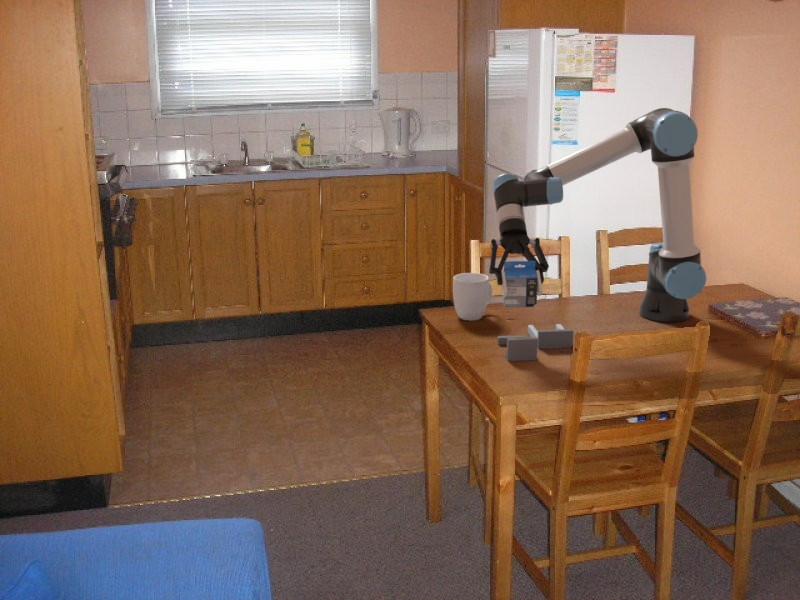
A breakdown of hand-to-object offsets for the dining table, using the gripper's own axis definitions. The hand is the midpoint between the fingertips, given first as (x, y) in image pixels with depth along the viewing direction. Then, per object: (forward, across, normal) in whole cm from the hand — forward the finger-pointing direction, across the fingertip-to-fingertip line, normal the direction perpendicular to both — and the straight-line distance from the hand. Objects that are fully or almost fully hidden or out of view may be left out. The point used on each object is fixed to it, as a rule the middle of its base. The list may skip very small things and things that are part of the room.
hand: (522, 294), depth 245 cm
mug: (-12, +8, -37) cm, 40 cm away
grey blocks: (+10, +1, -14) cm, 18 cm away
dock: (+4, -11, -21) cm, 24 cm away
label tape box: (+1, 0, -6) cm, 6 cm away
